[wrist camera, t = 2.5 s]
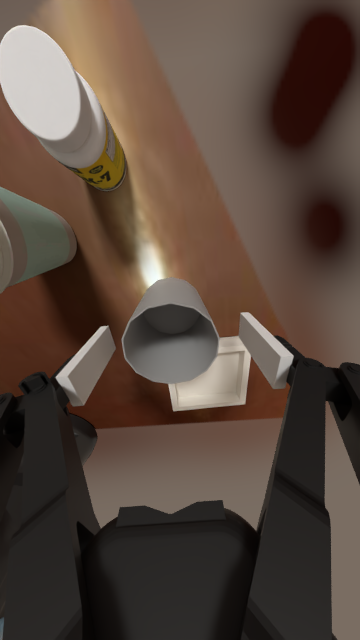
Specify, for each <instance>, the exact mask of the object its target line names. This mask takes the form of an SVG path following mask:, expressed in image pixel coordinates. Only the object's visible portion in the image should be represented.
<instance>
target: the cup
mask: <svg viewBox="0 0 360 640" xmlns="http://www.w3.org/2000/svg"><path fill="white" fill-rule="evenodd" d="M219 341H220V338H219V335H218V333H217V331H216V328H215V326H214V323H213V321H212V319H211V317H210V315H209V313H208V311H207V309H206V308H205V306H204V304H203V302H202V300H201V298H200V296H199V294H198V292H197V290H196V289H195V288H194V287H193V286H192V285H190V284H189V283H188V282H187V281H186V280H182V279H177V278H173V277H170V278H166V279H161V280H158V281H156V282H155V283H154V284H153V285H152V286H150V287H149V288H148V289H147V291H146V292H145V294H144V296H143V298H142V299H141V301H140V303H139V305H138V306H137V308H136V310H135V312H134V313H133V315H132V317H131V318H130V320H129V322H128V325H127V327H126V330H125V332H124V335H123V337H122V346H123V352H124V357H125V359H126V360H127V362H128V363H129V364H130V365H131V367H132V368H133V369H134V371H135V372H136V373H138V374H140V375H142V376H144V377H145V378H147V379H149V380H151V381H153V382H160V383H167V384H175V383H181V382H186V381H191V380H193V379H194V378H196V377H198V376H199V375H201V374H203V373H204V372H206V371H207V370H208V369H209V367H210V366H211V365H212V363H213V362H214V360H215V359H216V358H217V356H218V348H219Z"/></svg>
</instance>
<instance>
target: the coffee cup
mask: <svg viewBox="0 0 360 640" xmlns="http://www.w3.org/2000/svg"><path fill="white" fill-rule="evenodd" d="M76 250H77V242H76V237H75V234H74V232H73V230H72V228H71V227H70V225H69V224H68V223H67V222H66V220H65V219H64V218H62V217H61V216H60V215H58V214H57V213H55V212H53V211H51V210H49V209H47V208H45V207H43V206H41V205H38V204H36V203H34V202H32V201H30V200H28V199H25V198H23V197H21V196H19V195H17V194H15V193H12V192H10V191H8V190H6V189H4V188H2V187H0V293H1V292H3V291H4V290H5V288H6V287H9V286H12V285H14V284H17V283H19V282H22V281H24V280H27V279H29V278H32V277H34V276H37V275H39V274H41V273H44V272H46V271H49V270H51V269H54V268H56V267H59V266H61V265H64V264H66V263H68V262H70V261H71V260H72V259H73V257H74V256H75V254H76Z"/></svg>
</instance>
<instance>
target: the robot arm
mask: <svg viewBox="0 0 360 640" xmlns="http://www.w3.org/2000/svg"><path fill="white" fill-rule="evenodd" d="M239 338H240V340H241V341H242V343H243V344H244V346H245V347H246V349H247V350H248V352H249V353H250V355H251V356H252V358H253V359H254V361H255V362H256V364H257V365H258V367H259V368H260V370H261V371H262V373H263V374H264V376H265V377H266V379H267V380H268V382H269V383H270V385H271V386H272V388H273V389H281V388H285V386H286V382H287V383H288V384H289V385H290V386H291V387H290V390H289V394H288V397H287V398H288V399H287V403H286V408H285V412H284V416H283V421H282V425H281V430H280V434H279V438H278V443H277V447H276V451H275V456H274V460H273V465H272V468H271V473H270V477H269V481H268V486H267V490H266V494H265V499H264V503H263V507H262V510H261V514H260V518H259V522H258V526H257V531H256V530H255V529H254V528H253V527H252V526H251V525H250V524H249V523H248V522H247V521H246V520H244V519H243V518H242V517H241V516H239V515H238V514H236V513H235V512H233V511H231V510H228V509H226V508H224V506H223V501H222V500H217V501H203V502H196V503H194V504H192V505H190V506H188V507H185V508H183V509H181V510H179V511H177V512H175V513H173V514H167V513H164V512H161V511H159V510H155V509H153V508H150V507H147V506H133V507H120V509H119V514H118V517H116V518H115V519H113V520H112V521H110V522H109V523H107V524H106V525H105V526H104V527H103V528H100V526H99V523H98V521H97V519H96V517H95V514H94V511H93V507H92V503H91V499H90V496H89V492H88V487H87V483H86V479H85V476H84V471H83V468H82V466H83V465H84V463H85V462H86V460H87V459H88V458H89V456H90V455H91V453H92V451H93V449H94V446H95V444H96V441H97V433H96V430H95V429H94V428H93V426H92V425H91V424H89V423H88V422H87V421H85V420H84V419H82V418H80V417H78V416H75V415H72V414H69V411H68V408H67V407H66V405H67V403H68V402H69V401H70V402H71V404H72V406H83V405H84V404H85V402H86V400H87V399H88V397H89V395H90V393H91V392H92V390H93V388H94V386H95V384H96V383H97V381H98V379H99V377H100V376H101V374H102V372H103V370H104V369H105V367H106V365H107V363H108V362H109V360H110V358H111V356H112V355H113V353H114V351H115V349H116V347H115V344H114V341H113V338H112V335H111V332H110V329H109V326H101V327H100V328H99V329H98V330H97V331H96V333H95V334H94V335H93V336H92V337H91V338H90V339H89V340H88V341H87V343H86V344H85V345H84V346H83V347H82V348H81V349H80V350H79V352H78V353H77V354H76V355H73V356H72V357H70V358H69V359H67V361H66V362H65V363H64V364H63V365H62V366H61V367H60V369H58V370H57V371H56V372H55V373H54V375H53V376H52V377H51V378H50V379H49V378H48V376H47V375H46V373H45V372H37V373H34V374H32V375H30V376H28V377H26V378H25V379H23V380H22V381H21V382H20V383H19V385H18V386H19V388H20V389H21V390H22V392H23V393H24V394H25V395H22V396H19V397H14V396H13V394H12V393H5V394H2V395H0V640H1V639H2V637H3V640H337V638H336V637H335V636H334V635H333V633H332V612H331V611H332V609H331V527H330V517H329V513H328V511H327V509H326V508H325V502H324V494H325V489H324V488H325V487H324V486H325V485H324V484H325V401H328V402H329V405H330V408H331V410H332V413H333V415H334V418H335V421H336V423H337V426H338V429H339V431H340V434H341V437H342V439H343V442H344V444H345V447H346V450H347V452H348V455H349V457H350V460H351V463H352V466H353V468H354V471H355V473H356V476H357V479H358V481H359V484H360V365H358V364H355V363H348V362H345V363H342V364H341V365H340V367H339V368H331V367H325V366H324V365H323V364H322V363H320V362H319V361H317V360H314V359H311V358H305V357H304V356H303V355H302V354H301V353H299V352H298V351H297V350H296V349H295V348H294V347H292V345H291V344H289V343H288V342H287V341H286V340H285V339H284V338H282V337H280V336H273V335H272V334H270V333H269V332H268V331H267V330H266V329H265V328H264V327H263V326H262V325H261V324H260V323H259V322H258V321H257V320H256V319H255V318H254V317H253V316H252V315H251V314H250V313H249V312H247V313H241V314H240V326H239Z"/></svg>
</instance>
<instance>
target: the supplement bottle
mask: <svg viewBox="0 0 360 640" xmlns="http://www.w3.org/2000/svg"><path fill="white" fill-rule="evenodd" d="M0 83H1V87H2V90H3V93H4V95H5V98H6V100H7V102H8V104H9V106H10V108H11V109H12V111H13V112H14V114H15V115H16V117H17V118H18V119H19V121H20V122H21V123H22V124H23V125H24V126H25V127H26V128H27V129H28V130H29V131H30V132H31V133H32V134H33V135H35V136H36V137H37V138H38V140H39V141H40V143H41V144H42V145H43V147H44V148H45V149H46V150H47V151H48V152H49V153H50V154H51V155H52V156H53V157H54V158H55V159H56V160H57V161H59V162H60V163H61V164H63V165H64V166H65V167H67V168H68V169H70V170H71V171H73V172H74V173H75V174H76V175H78V176H79V177H81V178H82V179H83V180H85V181H86V182H88V183H89V184H90V185H92V186H93V187H95V188H96V189H99V190H102V191H111V190H114V189H116V188H118V187H119V186H120V185H121V184H122V182H123V180H124V178H125V174H126V158H125V154H124V151H123V148H122V146H121V144H120V142H119V140H118V138H117V136H116V134H115V132H114V130H113V128H112V126H111V124H110V122H109V120H108V118H107V116H106V114H105V112H104V111H103V109H102V107H101V105H100V103H99V101H98V99H97V97H96V95H95V93H94V92H93V90H92V89H91V87H90V86H89V84H88V83H87V82H86V81H85V80H84V78H83V77H82V76H81V75H80V74H79V73H77V72H76V71H75V70H74V68H73V66H72V64H71V63H70V61H69V59H68V58H67V56H66V55H65V53H64V52H63V50H62V49H61V48H60V47H59V46H58V44H57V43H56V42H55V41H54V40H53V39H52V38H51V37H49V36H48V35H47V34H45V33H44V32H42V31H41V30H39V29H37V28H35V27H31V26H25V25H23V26H17V27H14V28H12V29H11V30H10V31H8V32H7V33H6V35H5V36H4V38H3V40H2V42H1V44H0Z"/></svg>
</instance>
